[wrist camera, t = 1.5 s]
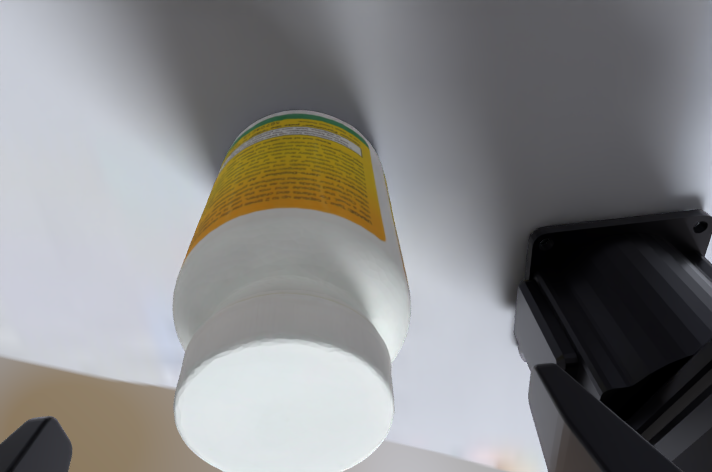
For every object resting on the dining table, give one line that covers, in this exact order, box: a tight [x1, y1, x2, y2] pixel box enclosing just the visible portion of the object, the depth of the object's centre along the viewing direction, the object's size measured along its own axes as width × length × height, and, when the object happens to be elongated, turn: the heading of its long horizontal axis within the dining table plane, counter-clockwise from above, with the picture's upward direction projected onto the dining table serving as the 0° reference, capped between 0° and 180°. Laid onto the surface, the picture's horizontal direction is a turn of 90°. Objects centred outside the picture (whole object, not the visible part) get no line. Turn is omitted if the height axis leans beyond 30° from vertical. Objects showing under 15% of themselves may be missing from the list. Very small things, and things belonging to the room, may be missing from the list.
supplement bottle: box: [173, 110, 411, 472], centre depth 14 cm, size 5×5×10 cm
